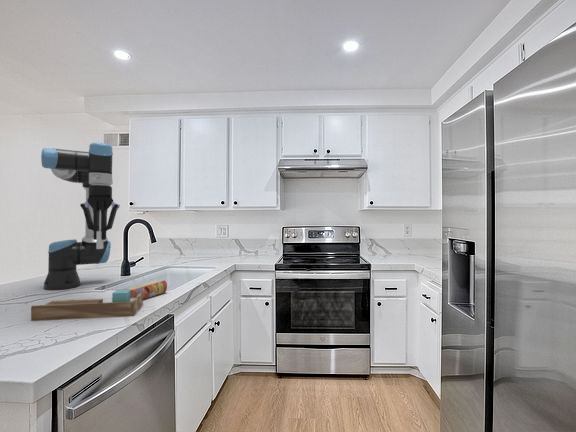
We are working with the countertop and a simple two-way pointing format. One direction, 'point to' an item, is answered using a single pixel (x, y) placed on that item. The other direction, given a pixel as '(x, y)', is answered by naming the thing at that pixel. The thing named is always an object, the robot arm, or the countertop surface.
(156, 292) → the snack package
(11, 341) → the countertop surface
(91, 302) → the trap board
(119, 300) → the teal block
